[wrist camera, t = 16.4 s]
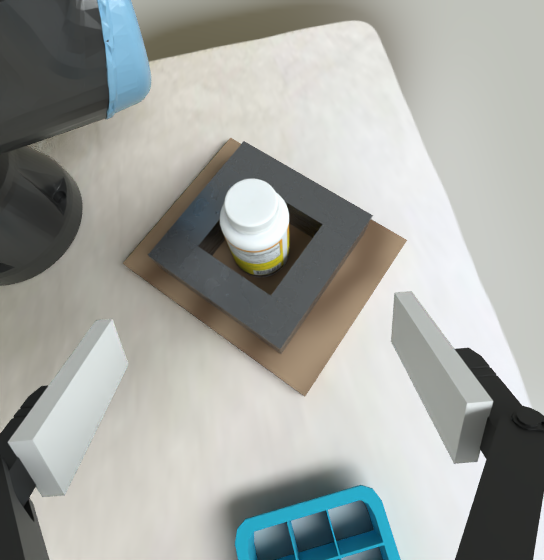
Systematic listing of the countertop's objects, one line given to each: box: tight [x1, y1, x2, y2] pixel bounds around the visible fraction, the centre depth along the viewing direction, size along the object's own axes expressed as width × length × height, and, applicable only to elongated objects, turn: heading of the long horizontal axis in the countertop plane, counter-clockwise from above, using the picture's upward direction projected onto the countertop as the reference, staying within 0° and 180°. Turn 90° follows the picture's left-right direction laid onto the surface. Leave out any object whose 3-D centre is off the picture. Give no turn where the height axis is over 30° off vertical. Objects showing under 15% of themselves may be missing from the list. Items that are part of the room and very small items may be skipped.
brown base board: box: [123, 138, 407, 396], centre depth 37 cm, size 22×18×1 cm
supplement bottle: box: [220, 179, 289, 277], centre depth 31 cm, size 6×6×10 cm
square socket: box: [148, 141, 373, 354], centre depth 34 cm, size 14×14×4 cm
